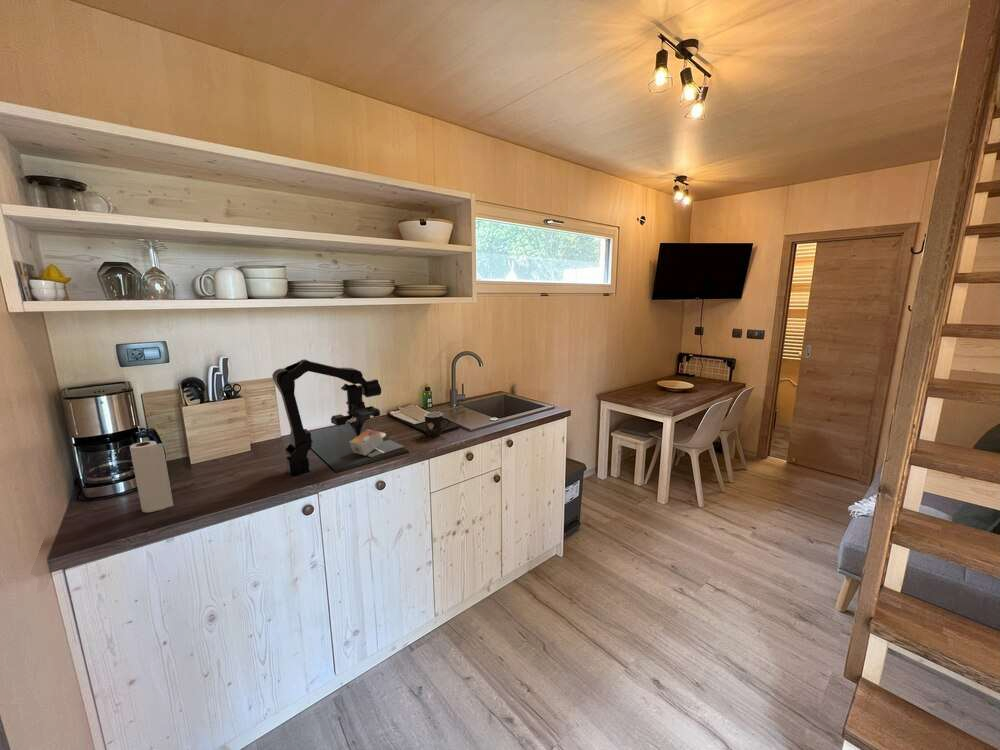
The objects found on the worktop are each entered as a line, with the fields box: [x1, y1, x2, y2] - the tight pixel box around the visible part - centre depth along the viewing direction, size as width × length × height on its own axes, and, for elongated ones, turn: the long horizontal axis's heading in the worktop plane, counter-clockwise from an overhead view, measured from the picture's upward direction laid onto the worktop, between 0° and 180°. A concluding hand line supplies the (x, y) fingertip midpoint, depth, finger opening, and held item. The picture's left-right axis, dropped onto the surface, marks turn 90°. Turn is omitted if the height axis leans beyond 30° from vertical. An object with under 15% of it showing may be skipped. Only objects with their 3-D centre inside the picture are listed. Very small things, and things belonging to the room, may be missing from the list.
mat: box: [366, 439, 405, 459], centre depth 173 cm, size 16×12×1 cm
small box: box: [348, 428, 384, 457], centre depth 170 cm, size 8×6×10 cm
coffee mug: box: [423, 411, 450, 438], centre depth 190 cm, size 12×9×10 cm
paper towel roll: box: [129, 440, 174, 513], centre depth 123 cm, size 7×6×21 cm
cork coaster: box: [379, 431, 387, 439], centre depth 189 cm, size 9×9×1 cm
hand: (357, 435), depth 165 cm, fingers closed
